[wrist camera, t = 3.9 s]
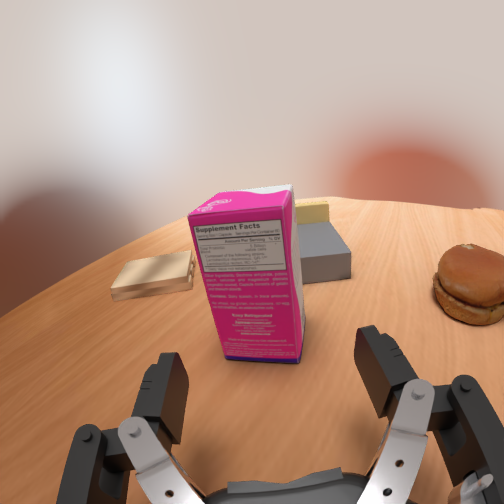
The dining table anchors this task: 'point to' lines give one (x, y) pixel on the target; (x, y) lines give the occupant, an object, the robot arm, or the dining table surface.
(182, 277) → the block
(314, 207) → the dock
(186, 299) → the dining table surface
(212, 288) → the supplement box
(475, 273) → the burger
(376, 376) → the robot arm
